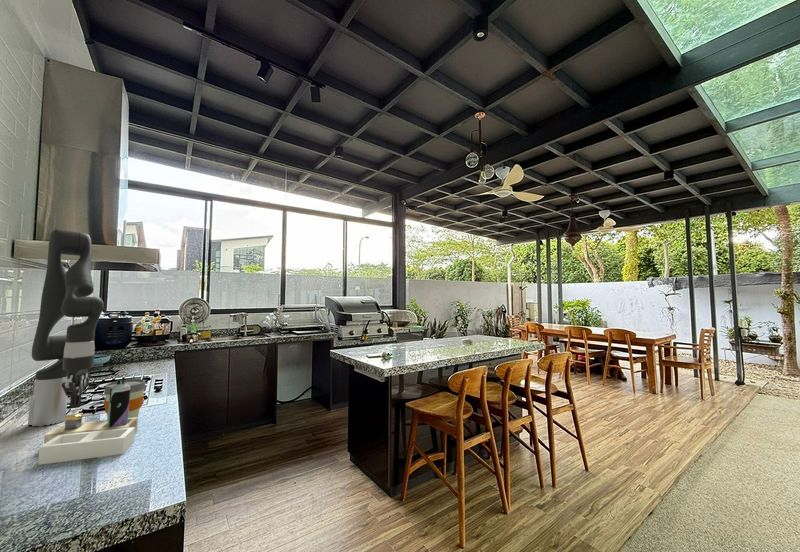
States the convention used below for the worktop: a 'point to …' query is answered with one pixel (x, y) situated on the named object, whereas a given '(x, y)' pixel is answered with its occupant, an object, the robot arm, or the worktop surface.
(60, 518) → the worktop surface
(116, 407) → the spray can
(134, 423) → the socket block
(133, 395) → the reusable coffee cup
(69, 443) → the frame
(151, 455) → the worktop surface
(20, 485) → the worktop surface
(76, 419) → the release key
